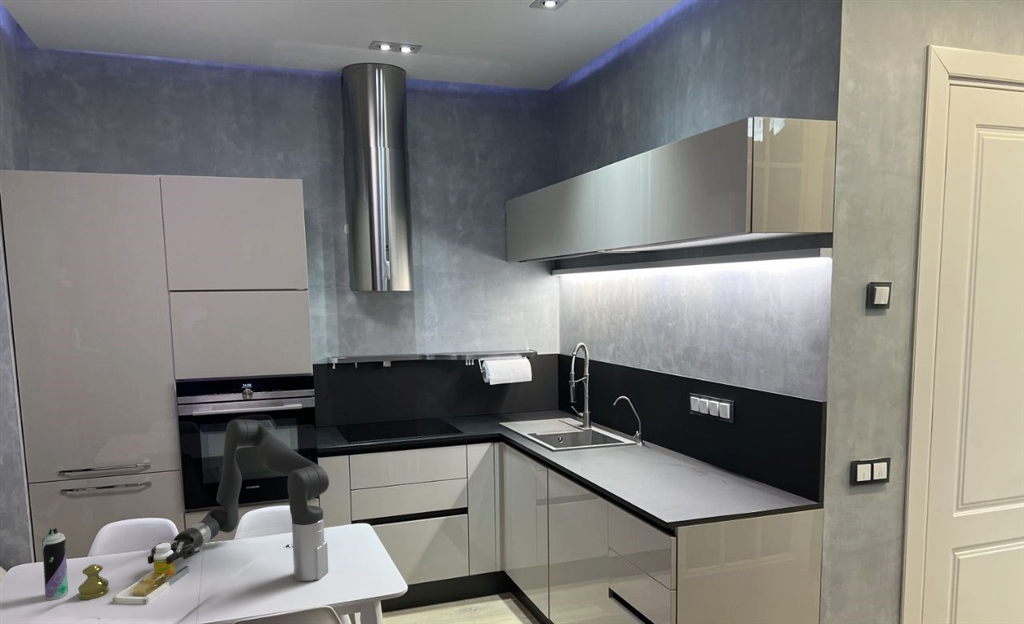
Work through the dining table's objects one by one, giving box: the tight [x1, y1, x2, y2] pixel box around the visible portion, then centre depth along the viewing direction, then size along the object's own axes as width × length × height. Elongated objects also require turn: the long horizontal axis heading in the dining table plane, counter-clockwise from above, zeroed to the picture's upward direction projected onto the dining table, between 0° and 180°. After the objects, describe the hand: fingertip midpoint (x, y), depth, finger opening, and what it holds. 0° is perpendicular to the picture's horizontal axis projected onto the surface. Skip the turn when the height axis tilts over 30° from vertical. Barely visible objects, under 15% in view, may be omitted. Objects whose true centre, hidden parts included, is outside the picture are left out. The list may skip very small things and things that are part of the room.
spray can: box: [41, 527, 69, 601], centre depth 190 cm, size 6×6×20 cm
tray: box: [111, 581, 170, 605], centre depth 186 cm, size 10×10×3 cm
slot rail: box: [137, 565, 190, 588], centre depth 196 cm, size 10×9×4 cm
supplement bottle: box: [153, 542, 176, 580], centre depth 196 cm, size 5×5×10 cm
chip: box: [143, 573, 165, 589], centre depth 192 cm, size 4×4×3 cm
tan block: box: [133, 582, 156, 597], centre depth 188 cm, size 4×4×3 cm
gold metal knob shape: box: [77, 563, 110, 601], centre depth 188 cm, size 7×7×10 cm
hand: (158, 560), depth 194 cm, fingers closed on supplement bottle, 5 cm apart
